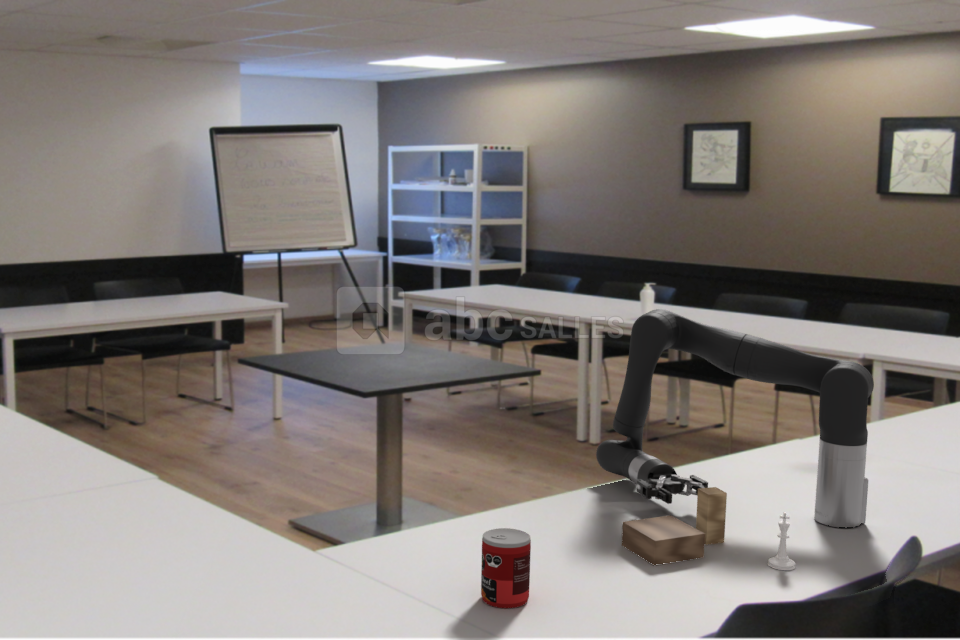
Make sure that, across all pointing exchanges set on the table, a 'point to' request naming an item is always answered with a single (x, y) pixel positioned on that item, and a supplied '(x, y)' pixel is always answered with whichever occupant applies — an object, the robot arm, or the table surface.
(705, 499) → the oak block
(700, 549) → the walnut block
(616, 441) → the robot arm
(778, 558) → the chess piece
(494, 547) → the canned food
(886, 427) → the table surface
